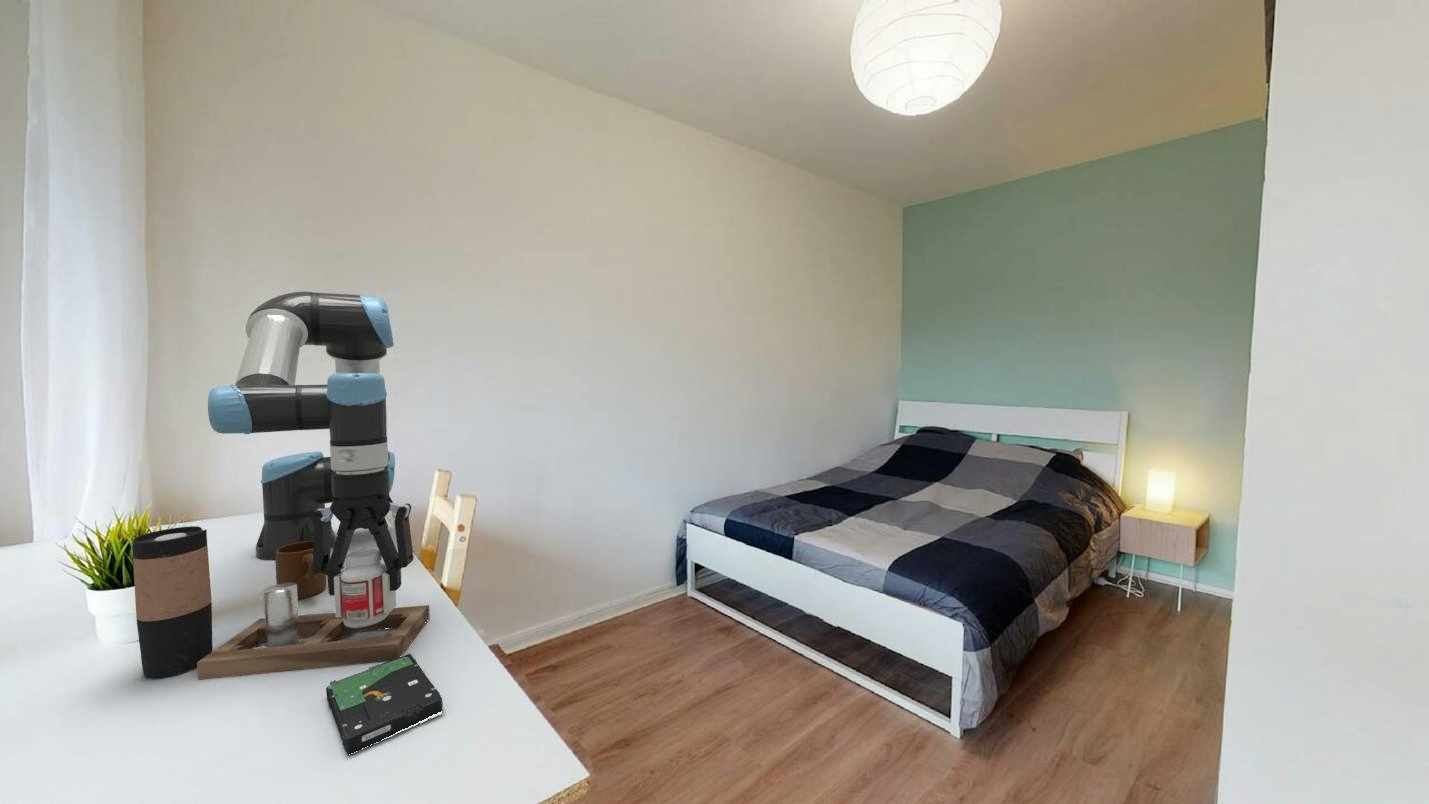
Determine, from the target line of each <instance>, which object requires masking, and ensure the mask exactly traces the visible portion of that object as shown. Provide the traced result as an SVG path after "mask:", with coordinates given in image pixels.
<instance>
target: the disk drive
mask: <svg viewBox="0 0 1429 804" xmlns="http://www.w3.org/2000/svg"><path fill="white" fill-rule="evenodd" d="M325 692H326V700H327V702H328V707H329V710H330V711H331V714H332V717H333V720H334V723H335V725H336V729H337V730H338V733H340V734H339V736H340V738H341V742H342V747H343V746H344V747H343V749H344V748H345V749H344V751H345V752H347V753H346V755H347V754H348V755H349V754H351V753H354V752H356V751H359V750H361V749H362V748H365V747H367V746H370V745H371V744H374V743H376V742H379V741H381V740H382V739H384V738H386V737H389V736H391V735H393V734H395V733H396V732H398V731H400V730H402V729H405V728H408V727H409V726H411V725H414V724H416V723H418V722H419V721H422V720H424V719H426V718H428V717H429V716H432V715H433V714H437V713H438V712H441V711H443V707H444V706H443V705H444V703H443V697H442V696H441V693H440V692H439V691H438V689H436V687H435V686H434V684H433V683H432V682H431V680H430V679H429V678H428V676H427V675H426V673H425V672H424V670H423V669H422V667H421V666H420V664H419V663H417V660H416V658H414V656H413V655H412V654H411V653H408V654H405V655H402V656H401V657H399V658H396V659H393V660H390V661H384V662H382V663H379V664H375V665H373V666H371V667H368V669H366V670H364V671H361V672H358V673H354V674H352V675H351V676H347V677H344V678H341V679H338V680H336V679H334V680H332V681H330V682H329V685H327V687H326V688H325ZM443 712H444V711H443ZM381 742H382V741H381ZM379 743H380V742H379ZM374 745H375V744H374ZM370 747H371V746H370ZM365 749H366V748H365ZM361 751H362V750H361ZM359 752H360V751H359ZM356 753H357V752H356ZM354 754H355V753H354ZM348 755H347V756H348ZM349 756H350V755H349Z"/></svg>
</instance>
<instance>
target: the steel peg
mask: <svg viewBox="0 0 1429 804" xmlns="http://www.w3.org/2000/svg"><path fill="white" fill-rule="evenodd" d="M262 595H263V611H264V615H263V616H264V618H265V633H266V644H265V648H266V647H278V646H289V645H296V644H297V643H298V642H299V641H301V637H300V636H299V617H298V615H299V603H298V602H299V601H298V600H299V599H298V598H297V584H296V583H282V584H278V585H277V584H274V585H271V586H269V587H267V588H265V589H264V590H262Z"/></svg>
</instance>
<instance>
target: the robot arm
mask: <svg viewBox="0 0 1429 804" xmlns="http://www.w3.org/2000/svg"><path fill="white" fill-rule="evenodd" d="M387 305H388V304H387V303H386V301H385V300H384V299H383V298H380V297H376V296H370V295H369V296H368V295H364V294H347V293H345V294H344V293H329V292H313V291H294V292H289V293H285V294H284V293H283V294H280V295H277V296H275V297H273V298H270V299H269V300H267V301H265V302H263V303H262V304H260V305H258V306H257V307H256V308H255V309H254V310H253V311H252V312H251V313H250V315H249V317H248V319H247V322H246V325H245V333H246V336H247V337H248V341H247V344H246V348H245V351H244V354H243V357H242V360H241V364H240V367H239V368H238V369H239V370H238V373H237V376H236V380H235V382H234V384H229V385H217V386H215V387H212V388H211V389H210V390H209V393H208V398H207V414H208V420H209V424H210V425H209V426H210V427H211V429H212V430H213V431H214V432H216V433H217V434H244V435H250V434H260V433H273V432H274V433H275V432H276V433H277V432H291V431H292V432H293V431H311V430H313V431H314V430H329V438H330V440H329V449H330V450H329V452H330V453H329V454H330V456H324V454H323V452H322V451H309V452H302V453H301V452H300V453H295V454H290V455H284V456H280V457H277V458H274V459H271V460H268V461H266V462H265V463H264V464H263V465H262V467H261V480H260V484H261V487H262V502H263V503H262V504H263V506H262V507H263V526H262V528H261V530H260V533H259V537H258V539H257V542H256V545H255V555H256V558H258V559H262V560H275V559H276V550H277V549H279V548H281V547H283V546H286V545H289V544H293V543H297V542H304V541H314V546H313V572H314V573H323V574H326V578H327V586H328V587H327V589H328V590H327V591H328V594H329V596H334V613H335V614H336V617H342V616H343V605H342V587H341V575H342V573H343V571H344V570H343V569H344V568H345V567H346V566H344V564H345V562H346V556H347V555H348V551H349V549H350V545H351V542H352V540H353V537H354V534H355V531H356V530H358V529H364V530H368V531H369V533H370V535H371V536H372V537H373V539H374V541H375V544H376V546H377V548H378V549H379V551H380V553H381V556H382V557H381V559H382V560H383V563H385V565H386V568H387V570H386V571H385V572H384V573H383V574H382V581H383V604H384V614H385V613H390V612H391V611H392V610H393V608H396V607H397V592H396V591H398V590H399V589H400V588H401V586H402V569H403V568H406V567H408V566H410V564H411V563H412V562H413V561H414V558H415V557H414V551H413V542H412V534H411V525H410V524H411V523H410V514H411V510H412V504H410V503H404V504H400V503H395V502H394V501H393V500H392V498H391V496H390V493H391V491H392V489H393V486H394V482H395V481H394V479H395V469H396V467H395V466H396V457H395V456H396V455H395V453H394V452H391V451H390V450H389V447H388V446H389V445H388V433H387V432H388V431H387V430H388V429H387V425H388V424H387V420H388V419H387V395H388V394H387V393H388V392H387V389H386V382H385V377H384V376H383V375H382V374H381V372H380V371H381V370H380V365H381V364H380V360H382V359H383V358H385V357H386V356H387V354H388V353H387V351H388V350H387V349H390V348H392V347H394V346H395V343H394V337H393V332H392V325H391V322H390V321H391V320H390V315H389V310H388V306H387ZM303 346H317V347H318V346H320V347H321V346H322V347H323V346H324V347H325V352H326V354H327V356H328V357H331V359H333V360H334V365H335V372H334V373H332V374H329V376H327V384H296V379H297V378H296V377H297V372H298V371H297V370H298V363H299V356H300V351H301V348H302V347H303ZM326 504H330V506H327V507H326ZM389 512H391V516H392V518H393V519H394V530H395V531H394V532H395V538H396V540H395V541H396V545H395V542H394V540H393V537H392V535H391V533H390V530H389V528H388V527H389V526H388V525H389V524H388V521H387V519H386V516H387V515H388V513H389ZM333 517H335V518H336V519H337V520H338V521H339V522H340V523H339V526H338V529H337V531H336V532H337V533H335V531H334V528H333V526H332V519H333ZM336 534H337V535H336ZM332 546H333V549H332V552H331V547H332Z"/></svg>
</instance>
